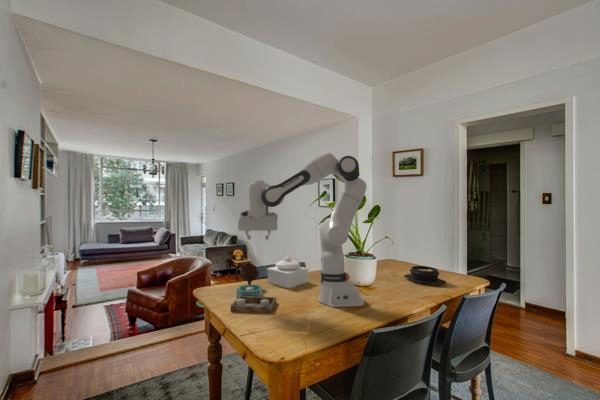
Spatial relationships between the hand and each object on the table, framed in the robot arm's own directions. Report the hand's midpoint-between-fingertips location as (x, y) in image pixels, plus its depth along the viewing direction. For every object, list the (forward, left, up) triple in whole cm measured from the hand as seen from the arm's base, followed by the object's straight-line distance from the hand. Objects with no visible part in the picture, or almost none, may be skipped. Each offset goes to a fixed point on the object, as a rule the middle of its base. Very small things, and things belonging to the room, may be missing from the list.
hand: (258, 239), depth 147 cm
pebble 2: (+4, +2, -29) cm, 29 cm away
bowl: (+4, +2, -29) cm, 30 cm away
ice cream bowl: (+8, -13, -30) cm, 33 cm away
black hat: (-96, -39, -30) cm, 108 cm away
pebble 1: (+3, +19, -29) cm, 35 cm away
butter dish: (-12, -27, -30) cm, 42 cm away
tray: (-2, +16, -29) cm, 33 cm away
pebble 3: (-8, +19, -29) cm, 35 cm away
